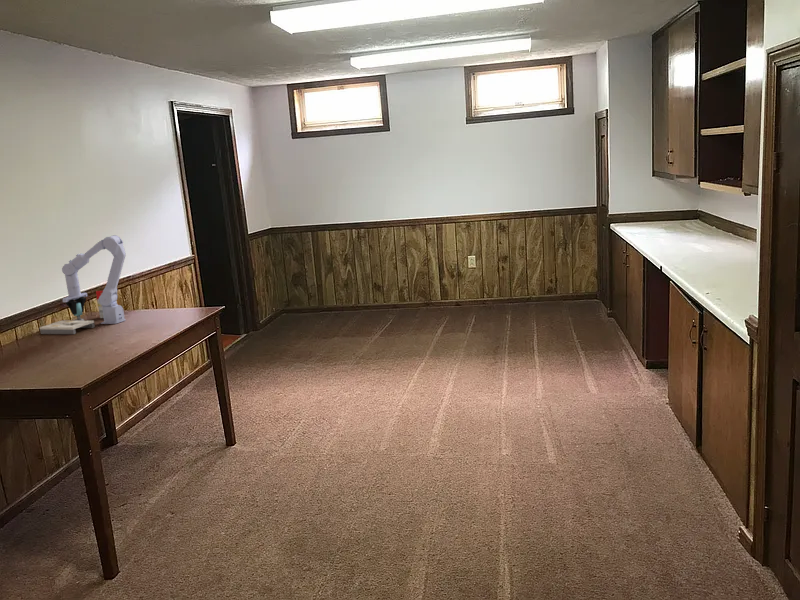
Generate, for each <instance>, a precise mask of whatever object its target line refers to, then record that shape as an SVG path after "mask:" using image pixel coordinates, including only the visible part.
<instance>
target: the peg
mask: <svg viewBox="0 0 800 600" xmlns="http://www.w3.org/2000/svg"><path fill="white" fill-rule="evenodd" d="M76 310H77V314H76V315H73V317H76V319H74V320H73V321H85V319H84V318H81V316H83V314H84V313H83V312H82V308H81V303H76Z"/></svg>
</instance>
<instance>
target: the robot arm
mask: <svg viewBox="0 0 800 600" xmlns="http://www.w3.org/2000/svg"><path fill="white" fill-rule="evenodd" d="M101 250H103V251H104V250H107V251H108V252H110V254H112V257H113V259H112V262H111V266H110V270H109V274H108V277H107V280H106V285H105V287H104V289H103V290H102V291H103V293H101V295H100V297H99V302H100V304H102V310H103V316H104V318H103V321H102V322H100V324H101V325H103V324H104V325H109V324H110V325H116V324H119V323H122V322H125V321H126V320H127V319H125V318H126V317H125V312H124V308H123V305H120V304H118V301H117V302H116V300H118V284H119V281H120V277H121V274H122V269H123V267H124V263H125V259H126V256H127V255H126V251H125V247H124V240H122V238H121V237H120V236H119V235H116V234H114V235H111V236H106V237H105V238H103V239H101V240H99V241H98V242H97V243H95V244H94V245H93V246H92V247H90V249H88V250H87V251H86V252H85V253H76V254H75V257H73V259H72V260H71V259H70V260H69V261H68V263H64V265H63V266H61V267H62V268H61V271H62V273H63V275H64V276H65V277H64V278H65V282H66V284H65V285H66V289H67V294H68V295H67V296H66V297H63V298H62V303H65V305H66V306H67V307H68V308H69V310H70V312H71V313H72V315H73V316H74V315H76V314H77V310H76V303H81V308H82V313H84V309H85V303H86V301H87V298H86V297H88V293H87V292H81V286H80V281H79V276H78V275H79V274H78V272H79V271H80V270H81V269H82V268H84V267H85V266H86V265H87V264H89V263H90V258H92V257H93V256H94V255H96V254H98V253H99V252H100V251H101Z"/></svg>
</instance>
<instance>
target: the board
mask: <svg viewBox="0 0 800 600" xmlns="http://www.w3.org/2000/svg"><path fill="white" fill-rule="evenodd" d="M81 328H82V329H85V328H86V329H88V328H89V329H91V328H92V329H93V328H95V320H84V321H74V320H58V321H55V322H52V323H49V324H47V325H46V324H45V325H42V326H39V331H40V334H41V335H75V334H77V331H76V329H81Z"/></svg>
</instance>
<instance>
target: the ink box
mask: <svg viewBox="0 0 800 600" xmlns="http://www.w3.org/2000/svg"><path fill="white" fill-rule="evenodd" d="M102 293H103V290H96V291H95V294H96V301H97V309H98V313H99V319H104V316H103V310H102V304H100V302H99V297H100V295H101V294H102ZM117 300H118V299H117ZM117 300H116V302H117V303H118V301H117Z"/></svg>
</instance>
